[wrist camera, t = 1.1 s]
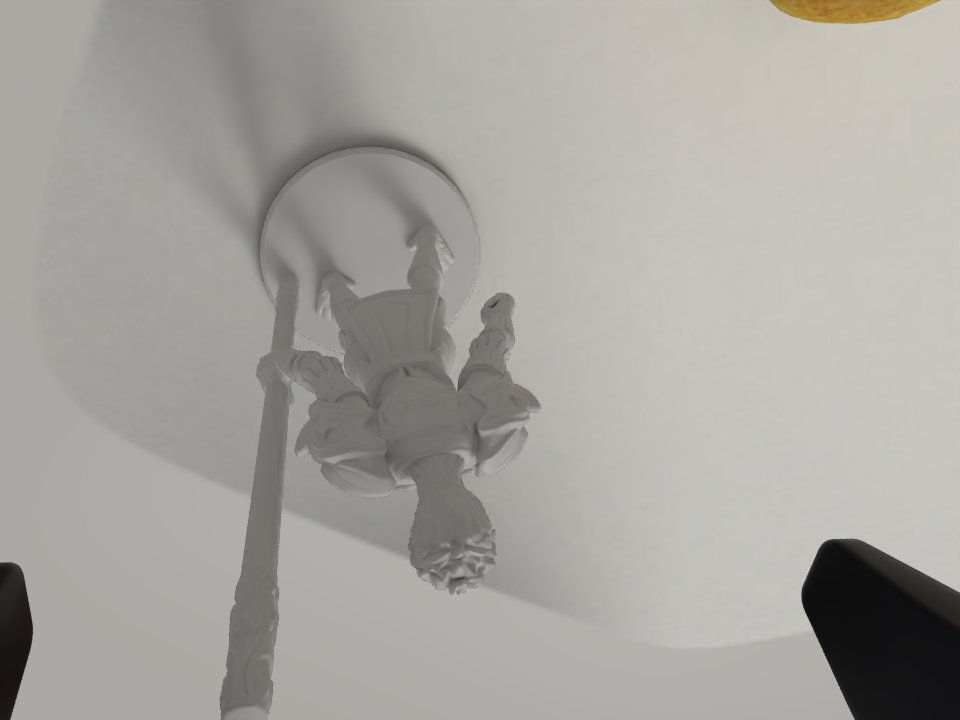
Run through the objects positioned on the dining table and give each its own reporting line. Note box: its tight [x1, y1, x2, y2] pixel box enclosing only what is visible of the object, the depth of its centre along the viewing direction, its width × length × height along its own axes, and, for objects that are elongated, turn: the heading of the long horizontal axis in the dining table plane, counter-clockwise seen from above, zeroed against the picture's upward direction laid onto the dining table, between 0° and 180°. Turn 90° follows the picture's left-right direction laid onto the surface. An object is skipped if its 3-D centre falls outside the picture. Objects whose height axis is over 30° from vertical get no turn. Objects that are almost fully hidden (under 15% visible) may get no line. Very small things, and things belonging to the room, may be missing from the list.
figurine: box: [220, 146, 541, 720], centre depth 12 cm, size 5×5×12 cm
